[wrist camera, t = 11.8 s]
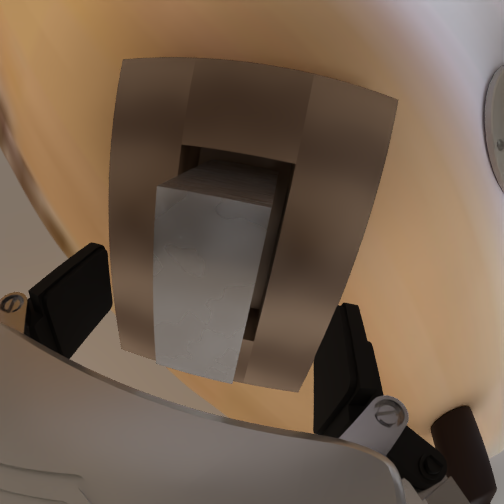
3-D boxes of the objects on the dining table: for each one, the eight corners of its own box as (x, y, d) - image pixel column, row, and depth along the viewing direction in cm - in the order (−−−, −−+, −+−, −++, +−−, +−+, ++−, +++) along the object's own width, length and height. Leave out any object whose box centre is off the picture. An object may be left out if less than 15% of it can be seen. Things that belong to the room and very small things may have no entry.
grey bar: (213, 158, 16) (156, 186, 9) (278, 171, 16) (271, 207, 9) (197, 284, 20) (156, 363, 13) (251, 296, 20) (232, 384, 13)
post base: (157, 70, 15) (122, 59, 11) (372, 105, 15) (398, 99, 11) (143, 316, 24) (121, 348, 20) (298, 352, 23) (298, 392, 19)
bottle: (423, 427, 28) (445, 546, 10) (462, 400, 25) (498, 522, 7) (440, 434, 29) (461, 538, 11) (475, 410, 26) (506, 515, 8)
